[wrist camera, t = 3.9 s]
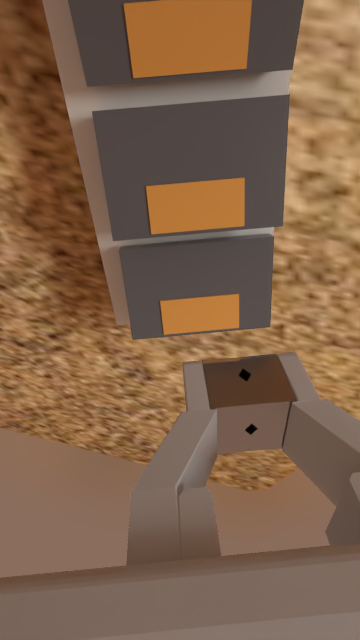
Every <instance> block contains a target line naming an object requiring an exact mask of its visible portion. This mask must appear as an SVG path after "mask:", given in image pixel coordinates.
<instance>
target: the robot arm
mask: <svg viewBox="0 0 360 640" xmlns="http://www.w3.org/2000/svg"><path fill="white" fill-rule="evenodd" d="M183 377H184V389H185V401H186V412H181V413H180V415H179V417H178V418H177V420H176V421H175V423H174V425H173V426H172V428H171V429H170V431H169V432H168V434H167V436H166V437H165V439H164V440H163V442H162V444H161V445H160V447H159V448H158V450H157V451H156V453H155V455H154V456H153V458H152V459H151V461H150V462H149V464H148V466H147V467H146V469H145V470H144V472H143V474H142V475H141V477H140V478H139V480H138V481H137V483H136V485H135V486H134V488H133V489H132V491H131V500H130V517H129V533H128V550H127V565H125V566H116V567H115V566H114V567H104V568H94V569H85V570H74V571H63V572H54V573H43V574H33V575H22V576H12V577H2V578H0V640H360V421H359V420H357V419H356V418H354V417H353V416H351V415H350V414H348V413H347V412H345V411H344V410H343V409H341V408H340V407H338V406H337V405H335V404H334V403H332V402H331V401H329V400H328V399H320V397H319V395H318V393H317V391H316V389H315V387H314V385H313V383H312V382H311V380H310V378H309V376H308V374H307V372H306V370H305V368H304V366H303V364H302V362H301V360H300V358H299V356H298V355H297V354H296V353H295V352H288V353H278V354H270V355H260V356H250V357H240V358H229V359H214V360H202V362H201V361H191V362H183ZM268 449H282V451H283V452H284V453H285V454H286V455H287V456H288V457H289V458H290V459H291V460H292V461H293V462H294V463H295V464H296V465H297V466H298V467H299V468H300V469H301V470H302V471H303V472H304V473H305V475H306V476H307V477H308V478H309V479H310V480H311V481H312V482H313V483H314V484H315V485H316V486H317V487H318V488H319V489H320V490H321V491H322V492H323V493H324V494H325V495H326V496H327V497H328V498H329V499H330V500H331V501H332V502H333V503H334V505H336V509H335V511H334V514H333V516H332V518H331V520H330V522H329V525H328V527H327V529H326V531H325V532H326V535H327V538H328V541H329V544H330V546H320V547H309V548H299V549H289V550H279V551H268V552H259V553H248V554H237V555H228V556H221V551H220V544H219V537H218V531H217V524H216V517H215V511H214V503H213V497H212V492H210V491H209V490H208V489H206V488H205V485H206V482H207V480H208V477H209V475H210V473H211V470H212V468H213V465H214V463H215V460H216V458H217V455H218V454H226V453H235V452H243V451H253V450H268Z"/></svg>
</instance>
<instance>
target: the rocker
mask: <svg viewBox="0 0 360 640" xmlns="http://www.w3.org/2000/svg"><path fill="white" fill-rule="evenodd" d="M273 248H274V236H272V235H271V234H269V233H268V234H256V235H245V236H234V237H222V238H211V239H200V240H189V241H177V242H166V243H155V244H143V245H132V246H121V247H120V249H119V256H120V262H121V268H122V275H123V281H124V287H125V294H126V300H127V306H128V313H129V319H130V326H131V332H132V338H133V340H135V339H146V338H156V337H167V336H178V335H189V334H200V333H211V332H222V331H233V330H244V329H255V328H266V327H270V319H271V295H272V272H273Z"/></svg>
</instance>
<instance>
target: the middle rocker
mask: <svg viewBox="0 0 360 640" xmlns="http://www.w3.org/2000/svg"><path fill="white" fill-rule="evenodd" d="M289 96H290V94H289V95H277V96H265V97H254V98H242V99H230V100H218V101H206V102H195V103H183V104H171V105H159V106H148V107H136V108H124V109H112V110H100V111H92V116H93V122H94V128H95V134H96V140H97V146H98V152H99V159H100V165H101V171H102V177H103V183H104V189H105V195H106V201H107V208H108V214H109V220H110V226H111V232H112V238H113V241H122V240H133V239H144V238H156V237H167V236H178V235H189V234H201V233H212V232H223V231H235V230H246V229H257V228H268V227H280V226H283V211H284V192H285V172H286V153H287V134H288V115H289Z"/></svg>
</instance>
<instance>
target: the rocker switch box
mask: <svg viewBox="0 0 360 640" xmlns="http://www.w3.org/2000/svg"><path fill="white" fill-rule="evenodd" d="M42 2H43V6H44V11H45V15H46V19H47V24H48V28H49V32H50V37H51V41H52V45H53V50H54V54H55V58H56V63H57V67H58V71H59V76H60V80H61V84H62V89H63V93H64V97H65V102H66V106H67V110H68V115H69V119H70V123H71V128H72V132H73V137H74V141H75V145H76V150H77V154H78V158H79V163H80V167H81V171H82V176H83V180H84V184H85V189H86V193H87V197H88V202H89V206H90V210H91V215H92V219H93V223H94V228H95V232H96V236H97V241H98V245H99V249H100V254H101V258H102V262H103V267H104V271H105V275H106V280H107V284H108V288H109V293H110V297H111V302H112V306H113V310H114V315H115V319H116V323H117V325H125V324H130V319H129V313H128V306H127V300H126V294H125V287H124V281H123V275H122V268H121V262H120V256H119V249H120V247H121V246H132V245H143V244H155V243H166V242H177V241H189V240H200V239H211V238H222V237H234V236H245V235H256V234H268V233H269V234H271V235H272V236H273V233H274V227H268V228H257V229H246V230H235V231H223V232H212V233H201V234H189V235H178V236H167V237H156V238H144V239H133V240H122V241H113V238H112V232H111V226H110V220H109V214H108V208H107V201H106V195H105V189H104V183H103V177H102V171H101V165H100V159H99V152H98V146H97V140H96V134H95V128H94V122H93V116H92V111H100V110H112V109H124V108H136V107H148V106H159V105H171V104H183V103H195V102H206V101H218V100H230V99H242V98H254V97H265V96H277V95H288V94H289V85H290V75H291V70H283V71H271V72H259V73H247V74H235V75H223V76H212V77H200V78H188V79H176V80H164V81H152V82H140V83H128V84H116V85H105V86H93V87H87V84H86V80H85V75H84V71H83V66H82V62H81V57H80V53H79V48H78V44H77V39H76V35H75V30H74V26H73V21H72V17H71V12H70V8H69V3H68V0H42Z"/></svg>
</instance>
